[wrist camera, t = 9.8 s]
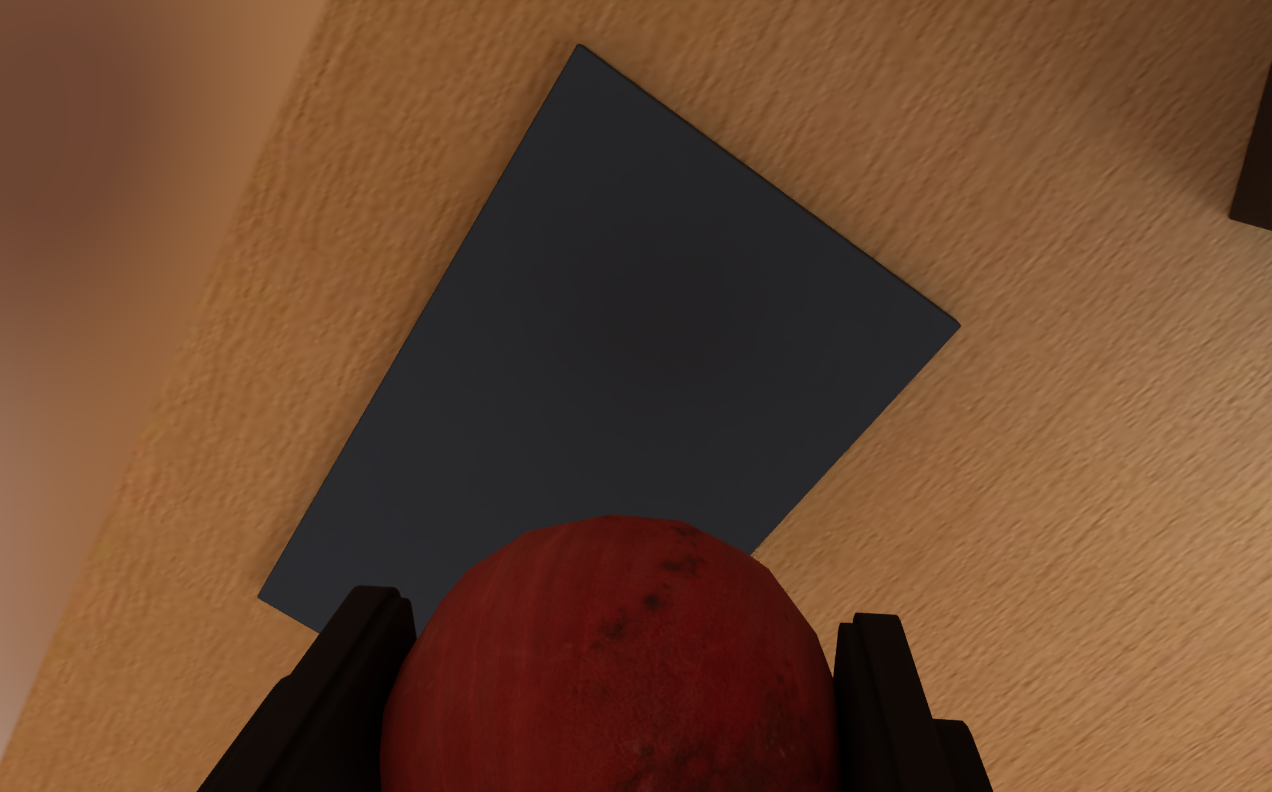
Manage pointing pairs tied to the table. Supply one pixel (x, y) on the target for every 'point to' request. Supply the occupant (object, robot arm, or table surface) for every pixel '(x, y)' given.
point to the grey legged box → (1257, 171)
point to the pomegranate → (614, 672)
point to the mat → (610, 359)
